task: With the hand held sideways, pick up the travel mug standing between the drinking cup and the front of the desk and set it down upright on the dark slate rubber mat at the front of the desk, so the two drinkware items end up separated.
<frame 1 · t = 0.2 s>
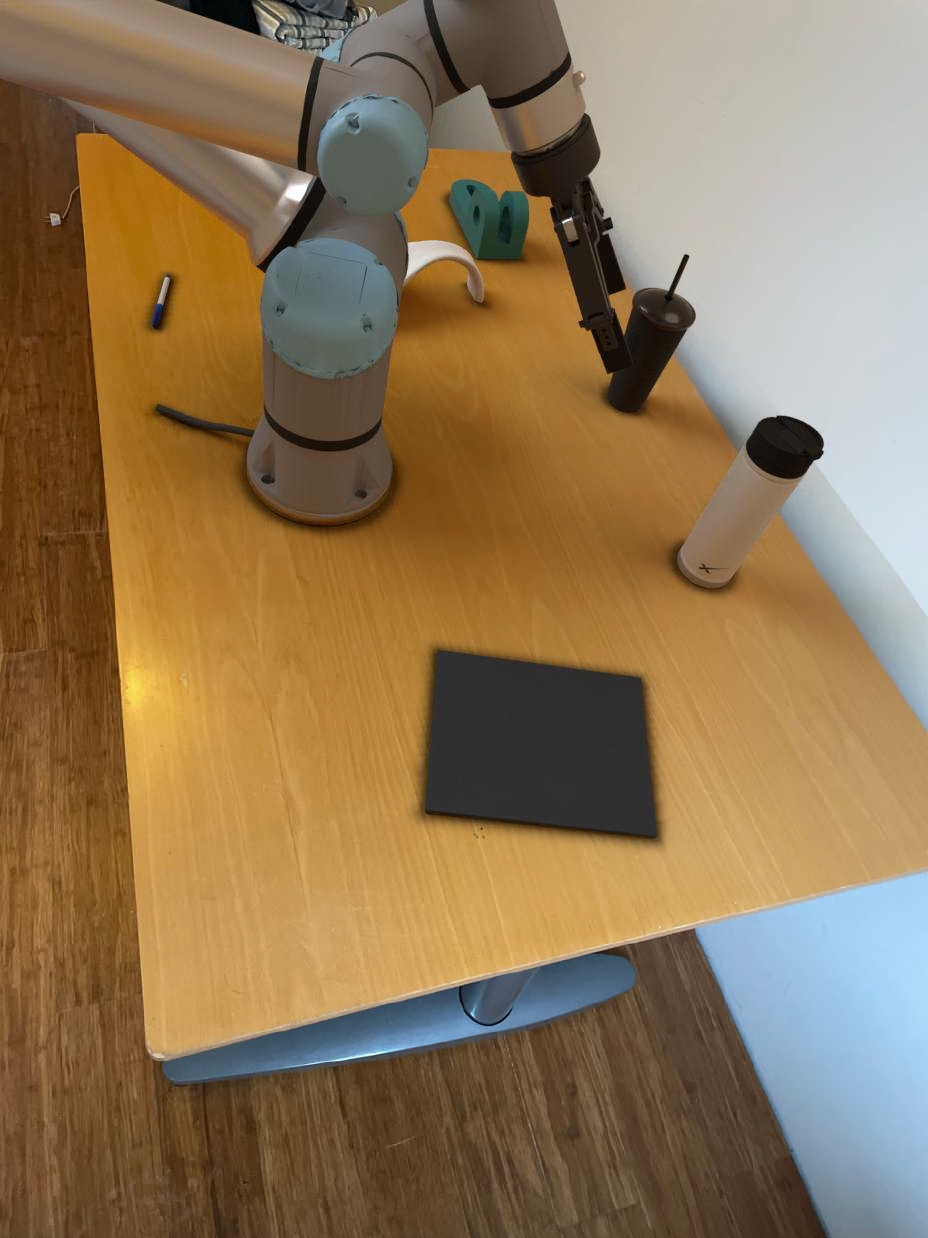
hand: (617, 328, 87), 15 cm above the table, tool tilted 35°, fingers open, 13 cm apart
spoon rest: (395, 298, 109), on the table
drinking cup: (624, 401, 105), on the table
slate mat: (540, 741, 73), on the table
travel mug: (703, 569, 90), on the table
bracket: (480, 226, 124), on the table
ballpoint pen: (161, 304, 100), on the table
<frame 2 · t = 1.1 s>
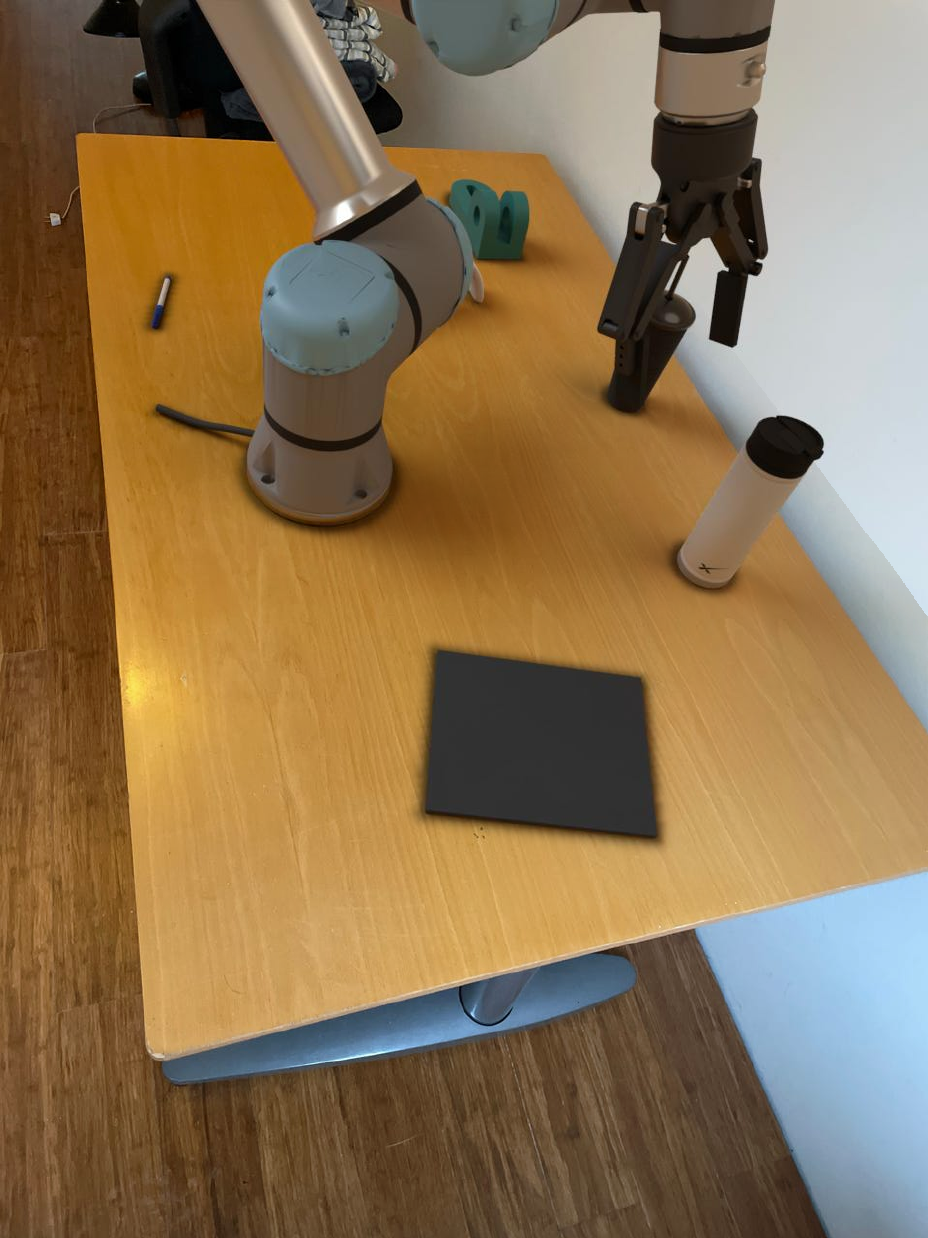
hand: (677, 371, 75), 20 cm above the table, tool tilted 20°, fingers open, 13 cm apart
nothing on the table moved.
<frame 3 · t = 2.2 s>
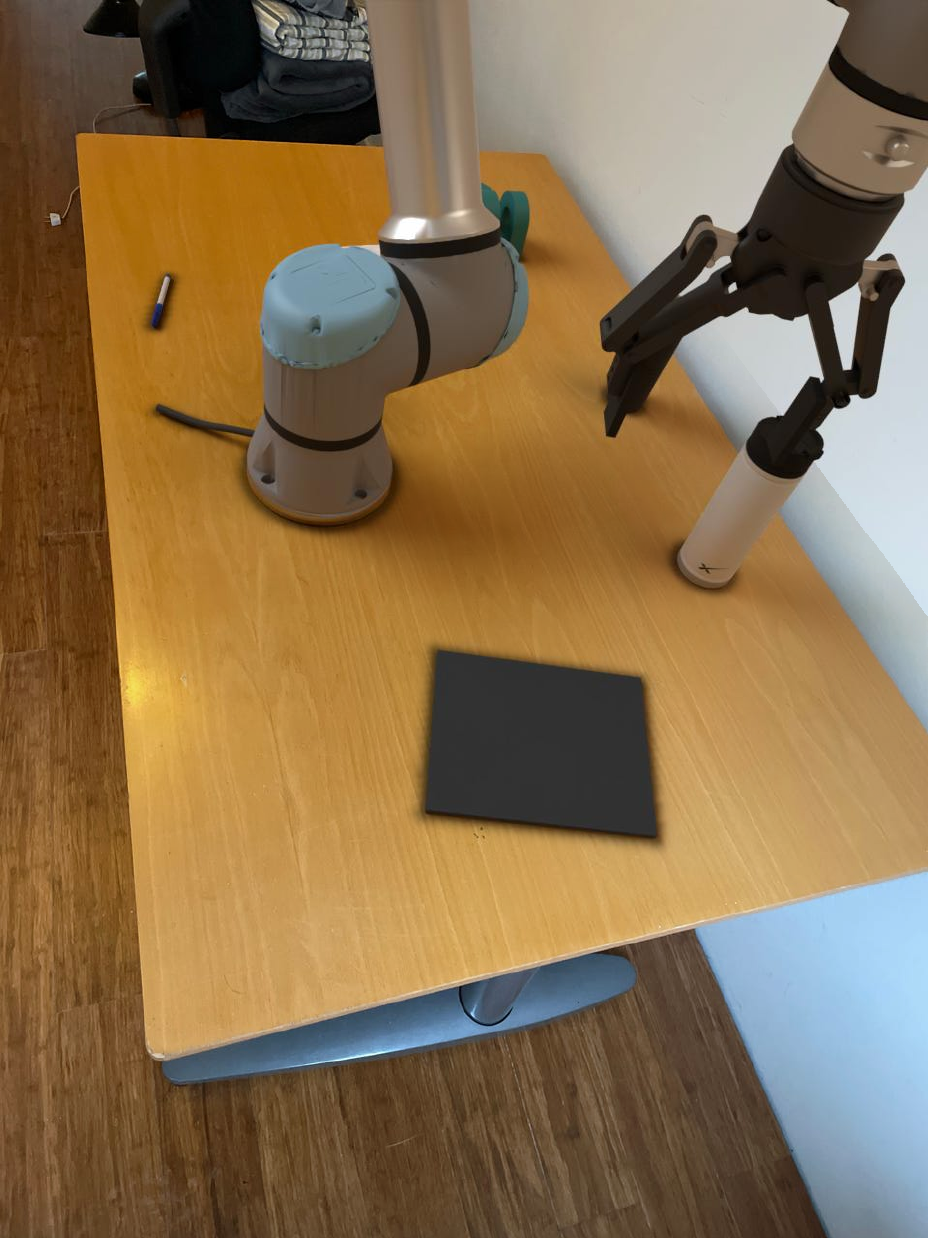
hand: (692, 439, 64), 24 cm above the table, tool pointing down, fingers open, 13 cm apart
nothing on the table moved.
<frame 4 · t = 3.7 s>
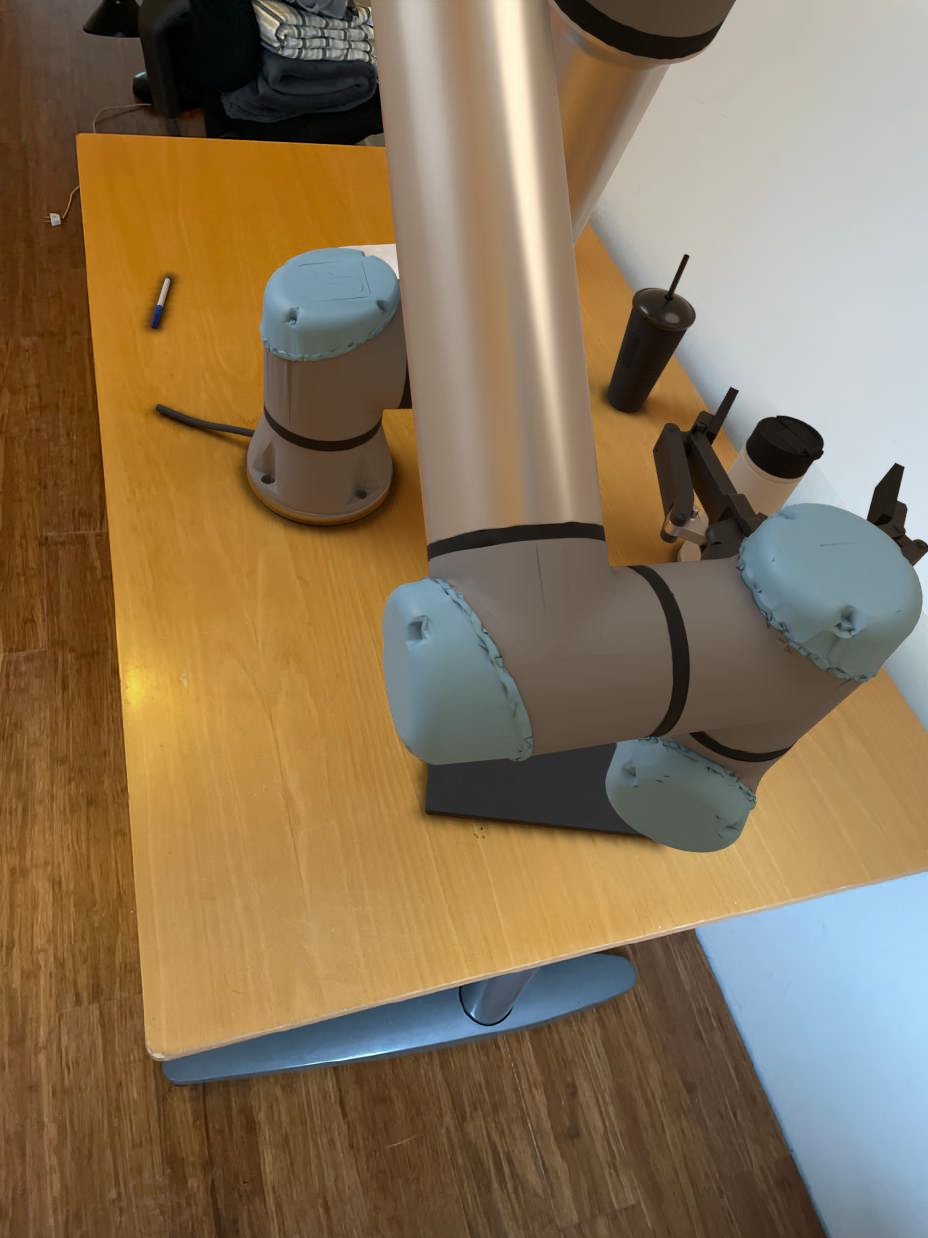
hand: (807, 438, 64), 26 cm above the table, tool horizontal, fingers open, 13 cm apart
nothing on the table moved.
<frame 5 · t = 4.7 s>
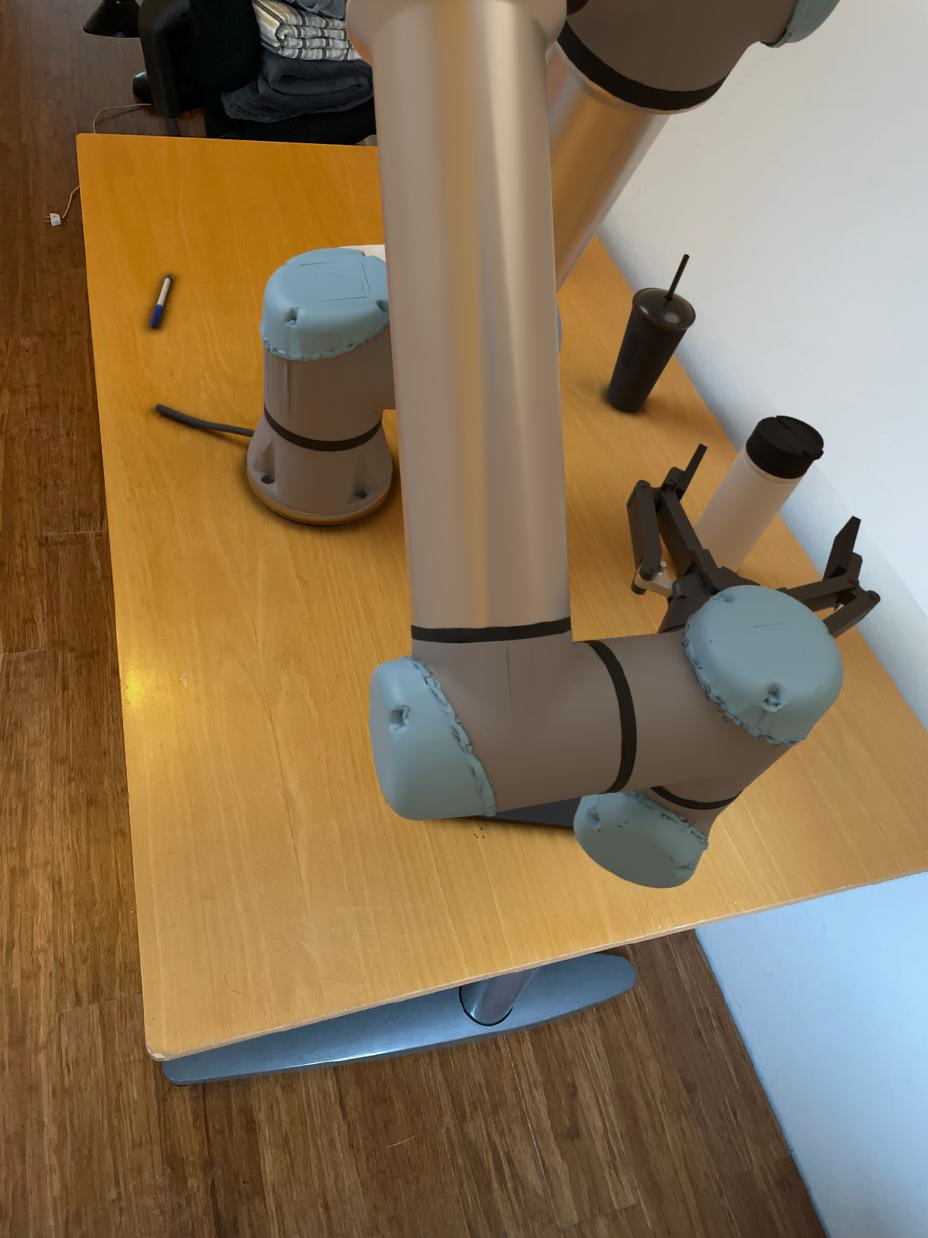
hand: (771, 491, 68), 20 cm above the table, tool horizontal, fingers open, 13 cm apart
nothing on the table moved.
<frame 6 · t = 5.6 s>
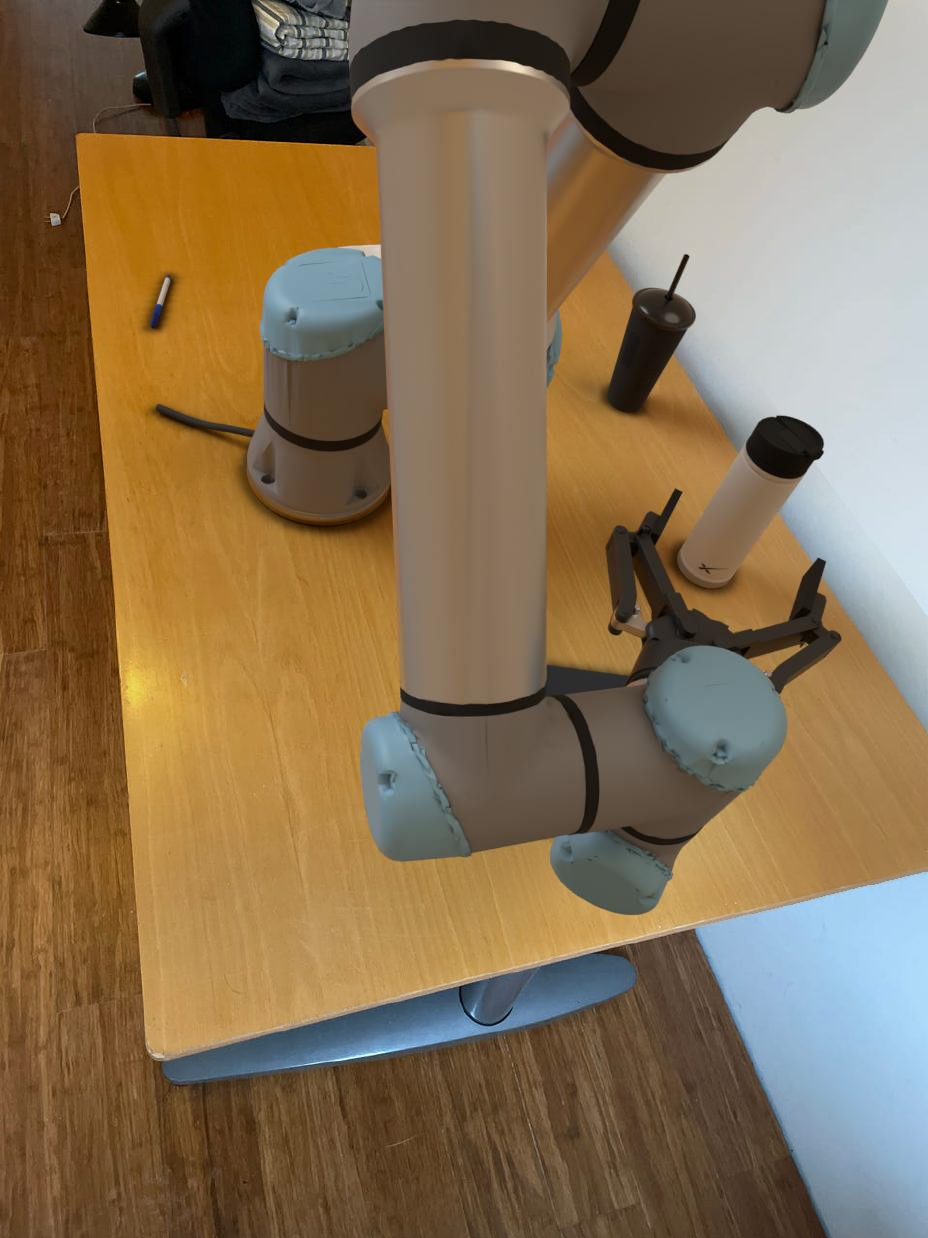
hand: (742, 534, 73), 15 cm above the table, tool horizontal, fingers open, 13 cm apart
nothing on the table moved.
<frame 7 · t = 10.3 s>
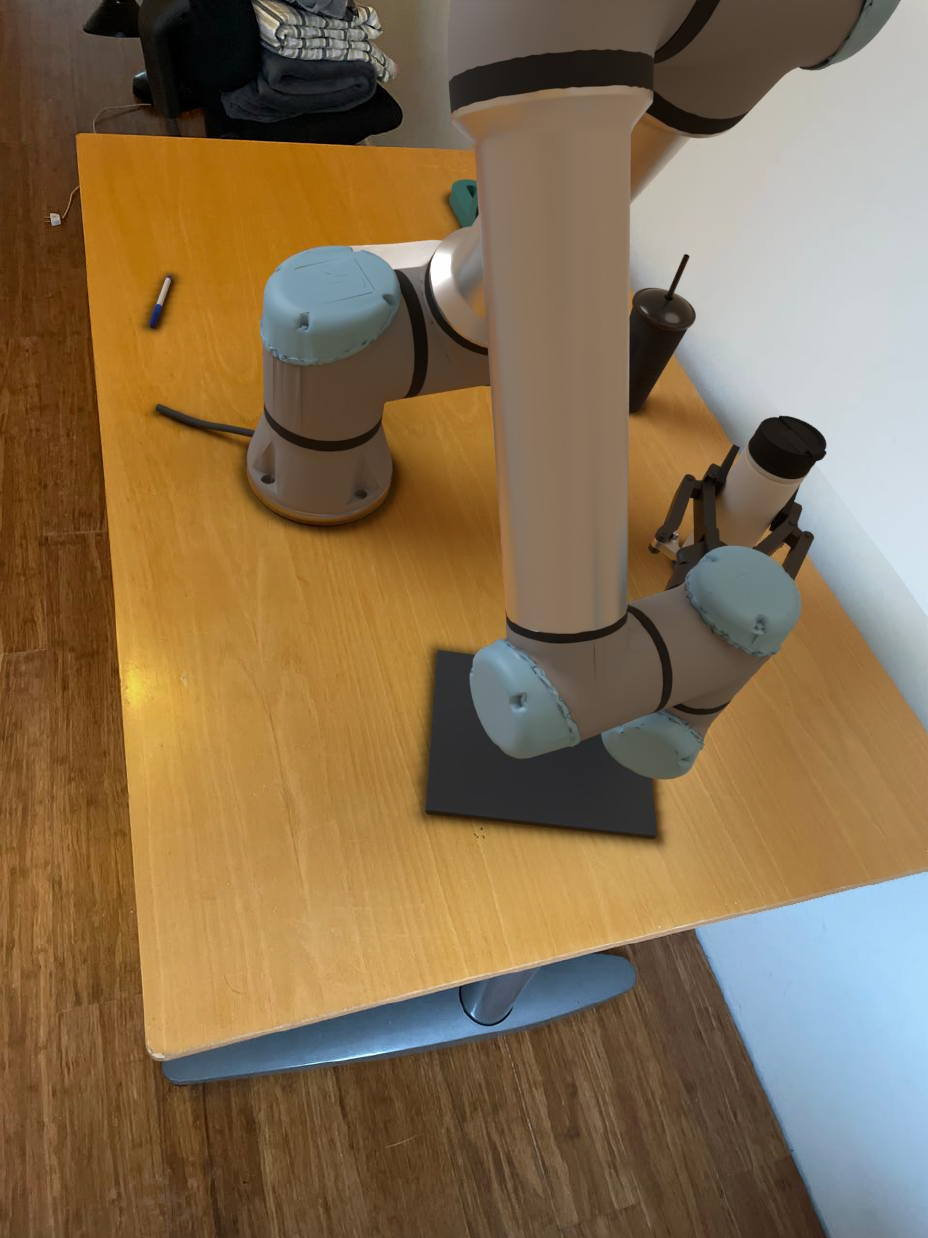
hand: (761, 470, 84), 11 cm above the table, tool horizontal, fingers closed on travel mug, 6 cm apart
travel mug: (703, 569, 90), on the table, touching gripper
everything else where it was.
when the fingers open (12 cm above the table, at t = 20.3 s): travel mug stays where it is, resting on slate mat.
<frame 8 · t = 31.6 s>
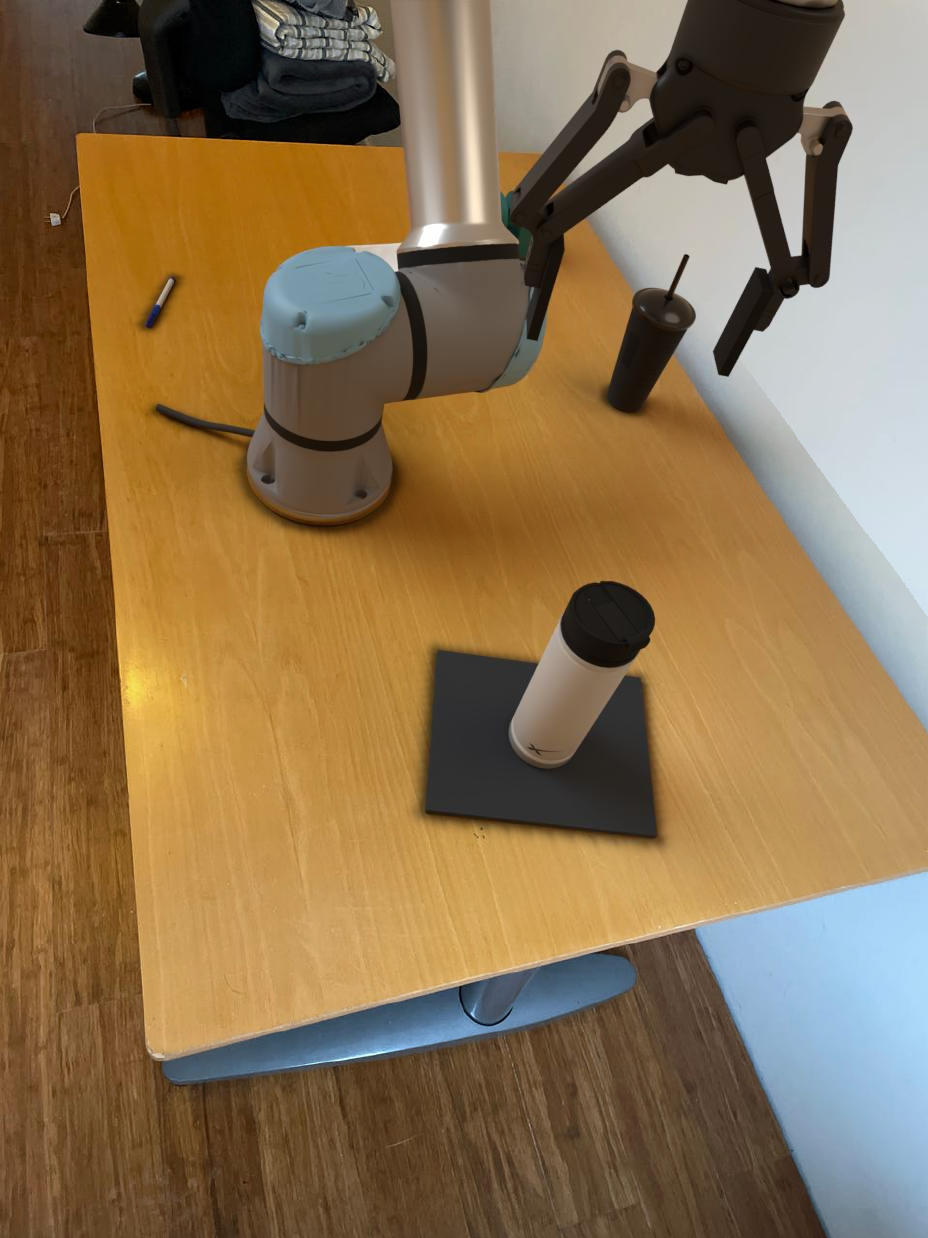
hand: (627, 346, 56), 32 cm above the table, tool pointing down, fingers open, 13 cm apart
travel mug: (542, 740, 73), resting on slate mat
everything else where it was.
at the end: travel mug inside the target area on the slate mat (0.1 cm from its centre), point 0.4 cm above the slate mat's base; travel mug tilted 0°; drinking cup moved 0.2 cm from its start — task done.
